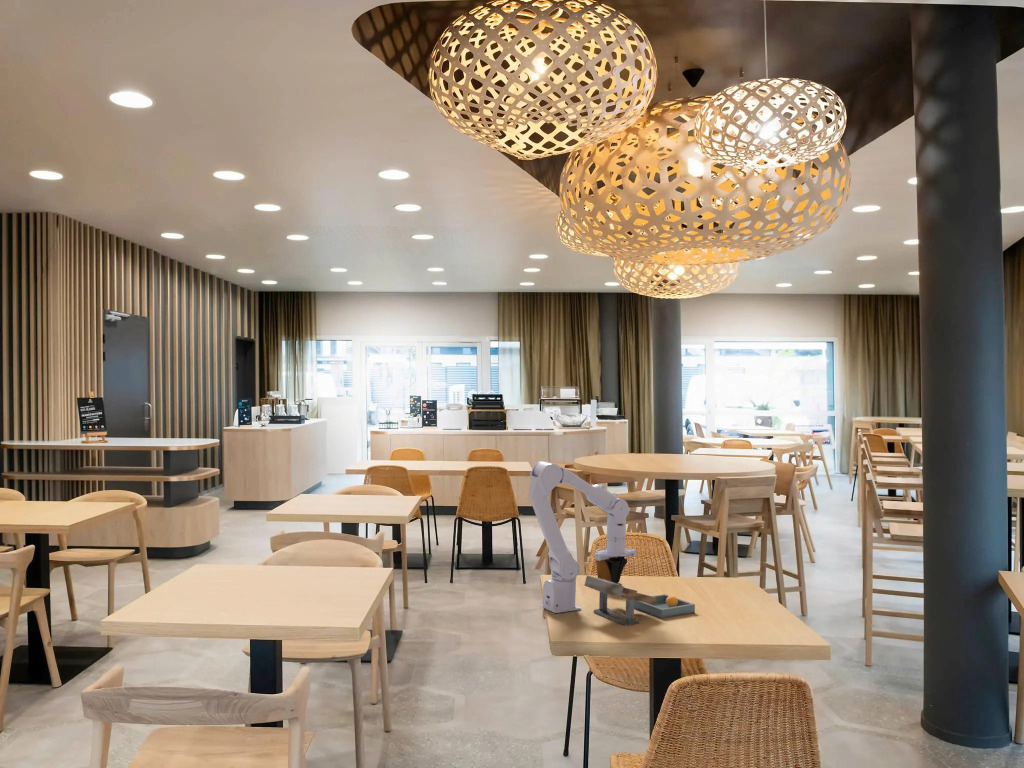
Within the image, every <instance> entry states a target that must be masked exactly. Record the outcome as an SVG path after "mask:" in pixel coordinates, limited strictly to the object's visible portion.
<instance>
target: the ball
mask: <svg viewBox="0 0 1024 768" xmlns="http://www.w3.org/2000/svg"><path fill="white" fill-rule="evenodd" d="M678 599H679V598H678ZM678 599H677V597H676V596H675V595H669V597H667V599H666V603H667V605H668V606H669V607H676V606H677V604H678Z"/></svg>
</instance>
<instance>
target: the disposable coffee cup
mask: <svg viewBox="0 0 1024 768" xmlns="http://www.w3.org/2000/svg"><path fill="white" fill-rule="evenodd" d="M606 550H607V548H598V549H596V550H595V553H599V552H603V551H606ZM595 553H594V556H595ZM595 563H596V565H595V566H596V575H597V578H600V579H604V580H607V581H608V580H610V581H611V576H610V572H609V569H608V567H607V564H606V562H605V561H604V560H601V561H598V560H595ZM617 583H619V582H617Z"/></svg>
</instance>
